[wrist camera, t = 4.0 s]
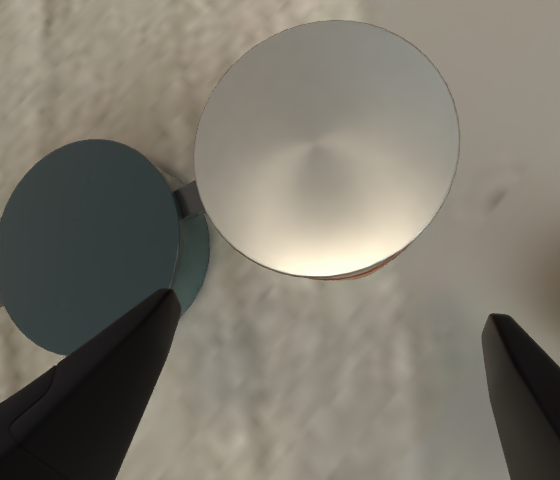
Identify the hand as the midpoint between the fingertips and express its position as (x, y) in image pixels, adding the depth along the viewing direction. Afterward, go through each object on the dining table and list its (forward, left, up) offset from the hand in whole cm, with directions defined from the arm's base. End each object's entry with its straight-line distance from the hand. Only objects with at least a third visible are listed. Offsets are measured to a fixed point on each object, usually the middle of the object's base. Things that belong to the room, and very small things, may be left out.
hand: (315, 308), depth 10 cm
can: (+3, -3, -11) cm, 12 cm away
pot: (+12, +9, -11) cm, 18 cm away
